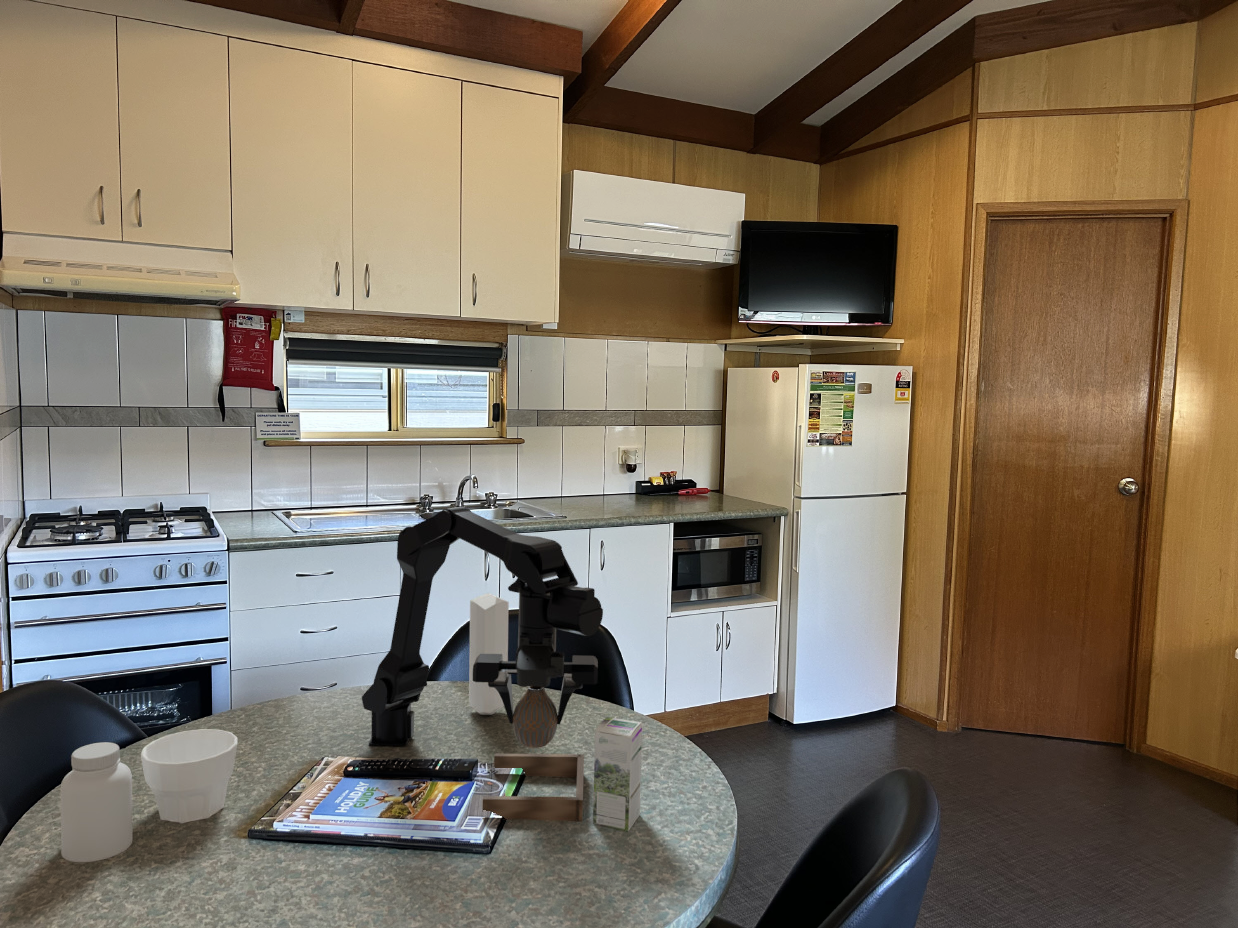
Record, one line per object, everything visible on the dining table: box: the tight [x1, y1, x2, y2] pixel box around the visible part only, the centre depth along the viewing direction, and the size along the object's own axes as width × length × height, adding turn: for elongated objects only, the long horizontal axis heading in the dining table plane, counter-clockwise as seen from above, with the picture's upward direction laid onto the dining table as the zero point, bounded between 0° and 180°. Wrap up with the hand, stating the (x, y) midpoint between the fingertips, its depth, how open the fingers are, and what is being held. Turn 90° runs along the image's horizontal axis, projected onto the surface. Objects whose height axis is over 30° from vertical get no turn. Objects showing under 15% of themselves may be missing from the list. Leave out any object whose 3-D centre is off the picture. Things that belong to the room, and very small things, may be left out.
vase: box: [512, 686, 559, 749], centre depth 132 cm, size 7×7×9 cm
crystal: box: [468, 592, 509, 716], centre depth 165 cm, size 7×7×24 cm
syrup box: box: [592, 717, 643, 832], centre depth 126 cm, size 6×6×14 cm
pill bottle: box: [59, 741, 133, 863], centre depth 112 cm, size 8×8×15 cm
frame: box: [482, 753, 585, 822], centre depth 133 cm, size 14×16×4 cm
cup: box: [140, 728, 239, 824], centre depth 123 cm, size 12×12×11 cm
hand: (535, 723), depth 133 cm, fingers closed on vase, 7 cm apart
